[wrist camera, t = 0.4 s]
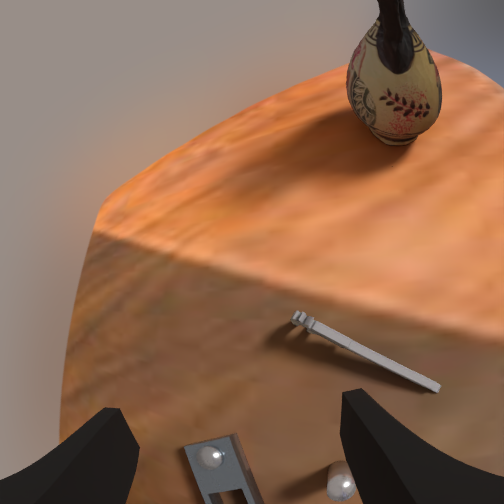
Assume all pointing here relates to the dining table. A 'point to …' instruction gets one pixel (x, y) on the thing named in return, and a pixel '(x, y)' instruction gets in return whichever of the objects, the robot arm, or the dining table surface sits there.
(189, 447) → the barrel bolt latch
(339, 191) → the dining table surface
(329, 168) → the dining table surface
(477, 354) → the dining table surface
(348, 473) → the steel pin
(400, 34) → the ceramic jug
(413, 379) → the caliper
